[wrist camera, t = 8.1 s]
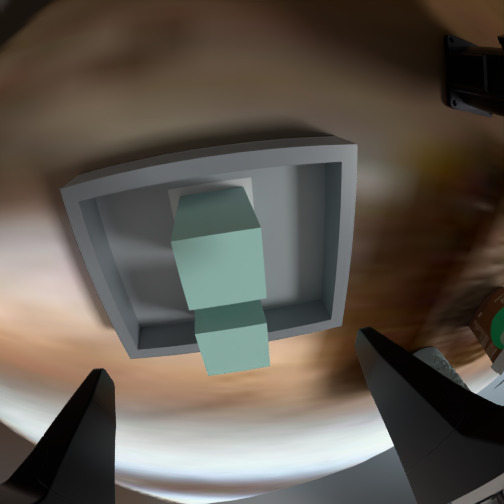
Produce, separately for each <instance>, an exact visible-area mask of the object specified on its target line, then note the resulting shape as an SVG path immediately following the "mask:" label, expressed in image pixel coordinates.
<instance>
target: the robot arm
mask: <svg viewBox="0 0 504 504" xmlns="http://www.w3.org/2000/svg"><path fill="white" fill-rule="evenodd" d="M497 37H498V40H499V43H500V44H501V46H502V48H494V47H478V46H476V45H474V44H472V43H469V42H467V41H465V40H463V39H460V38H458V37H455V36H453V35H450V34H449V35H445V36H444V42H445V52H446V67H447V102H448V106H449V107H450V108H452V109H457V110H462V111H467V112H471V113H475V114H479V115H484V116H487V117H492V115H493V114H496V115H500V116H503V117H504V35H501V36H497ZM449 39H450V40H449ZM355 350H356V353H357V356H358V359H359V362H360V365H361V368H362V371H363V374H364V377H365V380H366V383H367V385H368V388H369V390H370V392H371V394H372V397H373V399H374V401H375V403H376V405H377V408H378V410H379V412H380V414H381V417H382V419H383V421H384V423H385V426H386V428H387V430H388V432H389V435H390V437H391V439H392V442H393V444H394V446H395V449H396V451H397V454H398V456H399V458H400V461H401V463H402V466H403V468H404V470H405V473H406V475H407V478H408V480H409V483H410V486H411V488H412V491H413V493H414V496H415V499H416V501H417V504H448V503H450V502H452V504H504V406H500V405H497V404H495V403H493V402H491V401H489V400H487V399H485V398H483V397H481V396H479V395H477V394H475V393H473V392H471V391H469V390H467V389H466V388H464V387H462V386H460V385H459V384H457V383H455V382H454V381H452V380H451V379H449V378H448V377H446V376H444V375H442V374H441V373H440V372H438V371H437V370H435V369H434V368H432V367H431V366H429V365H428V364H426V363H425V362H423V361H422V360H420V359H419V358H417V357H416V356H414V355H413V354H411V353H409V352H408V351H406V350H405V349H403V348H402V347H400V346H399V345H397V344H396V343H394V342H393V341H391V340H390V339H388V338H387V337H385V336H384V335H382V334H381V333H379V332H378V331H376V330H375V329H373V328H371V327H364V328H361V329H359V330H358V333H357V338H356V342H355ZM115 434H116V412H115V386H114V382H113V380H112V379H111V378H110V376H109V375H108V373H107V372H106V370H105V369H103V368H96V369H93V370H92V371H91V372H90V374H89V375H88V376H87V377H86V379H85V380H84V381H83V383H82V384H81V385H80V387H79V388H78V389H77V390H76V392H75V393H74V394H73V396H72V397H71V398H70V400H69V401H68V402H67V404H66V405H65V406H64V408H63V409H62V410H61V412H60V413H59V414H58V416H57V417H56V418H55V420H54V421H53V423H52V424H51V425H50V427H49V428H48V430H47V431H46V432H45V434H44V436H42V438H41V439H40V441H39V442H38V443H37V445H36V446H35V447H34V449H33V450H32V452H31V453H30V454H29V455H28V457H27V458H26V459H25V460H24V461H23V462H22V464H21V465H20V466H19V467H18V468H17V470H16V471H15V472H14V473H13V475H11V476H10V478H9V479H8V480H6V481H5V482H3V483H1V484H0V504H115Z"/></svg>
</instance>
